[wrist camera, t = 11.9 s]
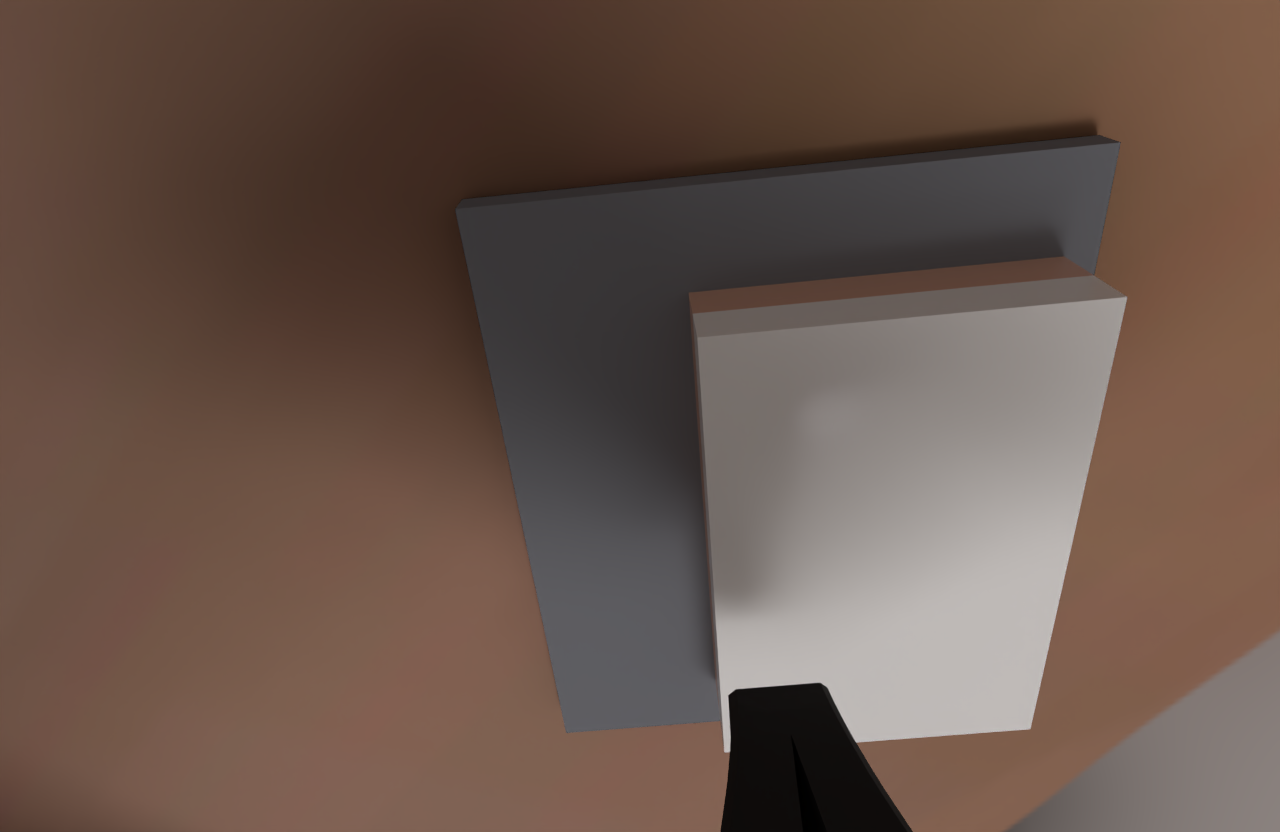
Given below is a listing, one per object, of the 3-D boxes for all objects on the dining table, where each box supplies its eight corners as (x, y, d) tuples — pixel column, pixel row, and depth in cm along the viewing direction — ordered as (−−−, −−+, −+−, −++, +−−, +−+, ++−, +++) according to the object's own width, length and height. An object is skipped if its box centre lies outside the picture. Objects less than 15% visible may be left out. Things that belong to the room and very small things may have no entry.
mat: (998, 677, 18) (1009, 698, 17) (568, 710, 18) (566, 732, 18) (1099, 135, 12) (1120, 142, 12) (462, 198, 12) (454, 209, 12)
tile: (715, 680, 17) (992, 658, 17) (724, 752, 15) (1030, 729, 15) (688, 292, 13) (1064, 256, 12) (697, 337, 11) (1127, 296, 11)
